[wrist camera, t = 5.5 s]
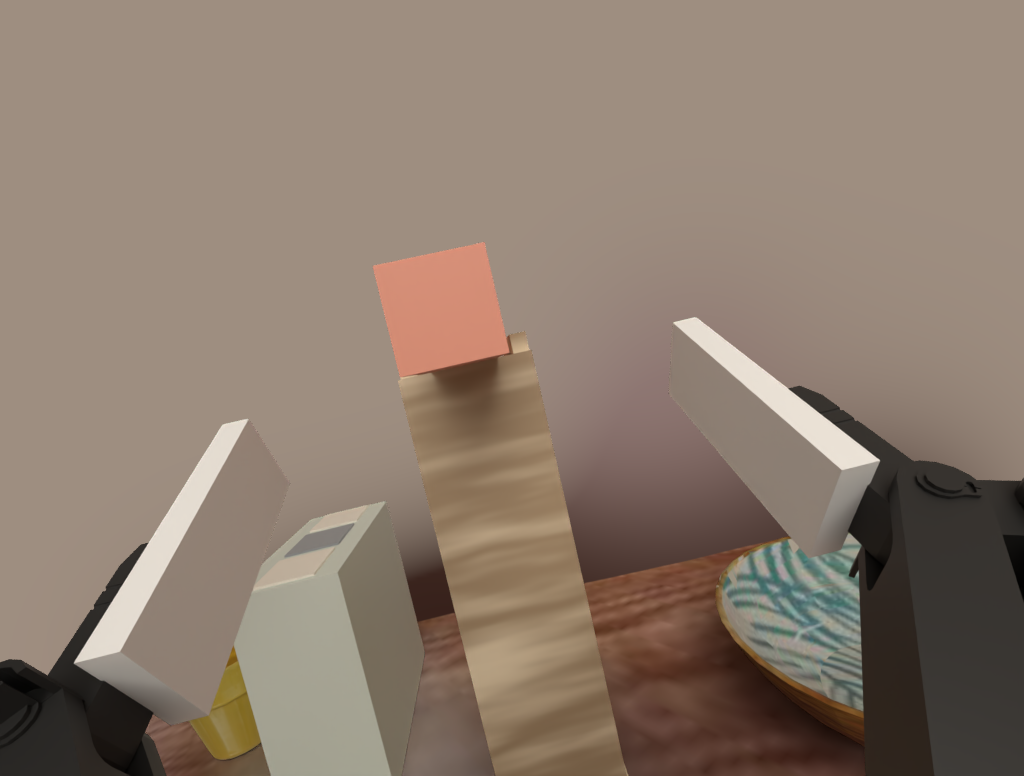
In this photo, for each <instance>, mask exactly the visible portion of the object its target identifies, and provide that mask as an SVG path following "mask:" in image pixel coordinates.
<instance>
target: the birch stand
mask: <svg viewBox="0 0 1024 776" xmlns="http://www.w3.org/2000/svg"><path fill="white" fill-rule="evenodd" d="M506 339H507V343H508V348H509V352H510V353H507V354H505V355H504V356H502V357H498V358H493V359H489V360H484V361H480V362H476V363H471V364H467V365H463V366H458V367H454V368H449V369H445V370H441V371H436V372H432V373H426V374H419V375H413V376H406V377H401V380H398V382H399V386H400V391H401V395H402V399H403V403H404V406H405V411H406V415H407V419H408V423H409V427H410V431H411V435H412V439H413V443H414V447H415V451H416V455H417V460H418V463H419V467H420V472H421V476H422V480H423V484H424V488H425V491H426V495H427V500H428V504H429V508H430V512H431V516H432V520H433V524H434V528H435V533H436V537H437V541H438V544H439V549H440V553H441V557H442V561H443V565H444V569H445V573H446V577H447V581H448V585H449V589H450V593H451V597H452V601H453V605H454V610H455V614H456V618H457V622H458V626H459V630H460V634H461V638H462V642H463V646H464V650H465V654H466V658H467V662H468V666H469V670H470V675H471V679H472V683H473V687H474V691H475V695H476V699H477V703H478V707H479V711H480V715H481V719H482V723H483V727H484V731H485V735H486V739H487V743H488V748H489V752H490V756H491V760H492V764H493V768H494V772H495V776H628V773H627V770H626V767H625V765H624V761H623V757H622V752H621V748H620V743H619V739H618V734H617V730H616V725H615V721H614V716H613V712H612V707H611V703H610V699H609V694H608V690H607V685H606V681H605V676H604V672H603V667H602V663H601V658H600V654H599V649H598V645H597V641H596V636H595V632H594V627H593V623H592V618H591V614H590V609H589V605H588V600H587V596H586V592H585V587H584V583H583V578H582V574H581V569H580V565H579V560H578V556H577V551H576V547H575V543H574V538H573V534H572V529H571V525H570V520H569V516H568V511H567V507H566V502H565V498H564V494H563V489H562V485H561V480H560V476H559V471H558V467H557V463H556V458H555V453H554V449H553V444H552V440H551V435H550V431H549V427H548V422H547V418H546V413H545V409H544V404H543V400H542V395H541V391H540V386H539V382H538V377H537V373H536V369H535V364H534V360H533V355H532V351H531V350H529V346H528V342H527V338H526V333H525V331H524V332H520V333H515V334H511V335H509V336H508V337H507V338H506Z"/></svg>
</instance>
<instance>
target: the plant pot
mask: <svg viewBox="0 0 1024 776" xmlns="http://www.w3.org/2000/svg"><path fill="white" fill-rule="evenodd" d="M189 722H190V724H191V725H192V727H193V728H194V730H195V731H196V733H197V734H198V736H199V737H200V738H201V740H202V741H203V743H204V744H205V746H206V747H207V749H208V750H209V752H210V753H211V754H212V756H213V757H214V758H216V759H219V760H226V759H232V758H235V757H237V756H240V755H242V754H244V753H246V752H248V751H249V750H251V749H253V748H254V747H256V746H257V745H259V744H260V743H261V739H260V736H259V732H258V729H257V725H256V722H255V718H254V715H253V711H252V708H251V704H250V701H249V697H248V693H247V690H246V686H245V683H244V679H243V676H242V672H241V669H240V665H239V662H238V658H237V655H236V651H235V648H234V645H233V648H232V651H231V653H230V656H229V659H228V662H227V665H226V668H225V671H224V673H223V676H222V679H221V682H220V685H219V688H218V691H217V693H216V696H215V699H214V702H213V705H212V708H211V711H210V713H209V716H205V717H201V718H197V719H193V720H190V721H189Z"/></svg>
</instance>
